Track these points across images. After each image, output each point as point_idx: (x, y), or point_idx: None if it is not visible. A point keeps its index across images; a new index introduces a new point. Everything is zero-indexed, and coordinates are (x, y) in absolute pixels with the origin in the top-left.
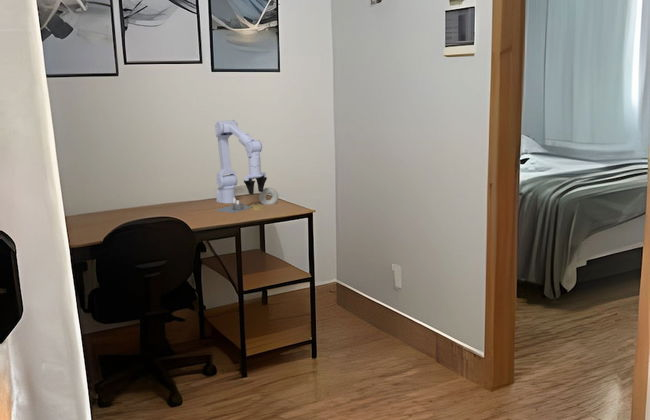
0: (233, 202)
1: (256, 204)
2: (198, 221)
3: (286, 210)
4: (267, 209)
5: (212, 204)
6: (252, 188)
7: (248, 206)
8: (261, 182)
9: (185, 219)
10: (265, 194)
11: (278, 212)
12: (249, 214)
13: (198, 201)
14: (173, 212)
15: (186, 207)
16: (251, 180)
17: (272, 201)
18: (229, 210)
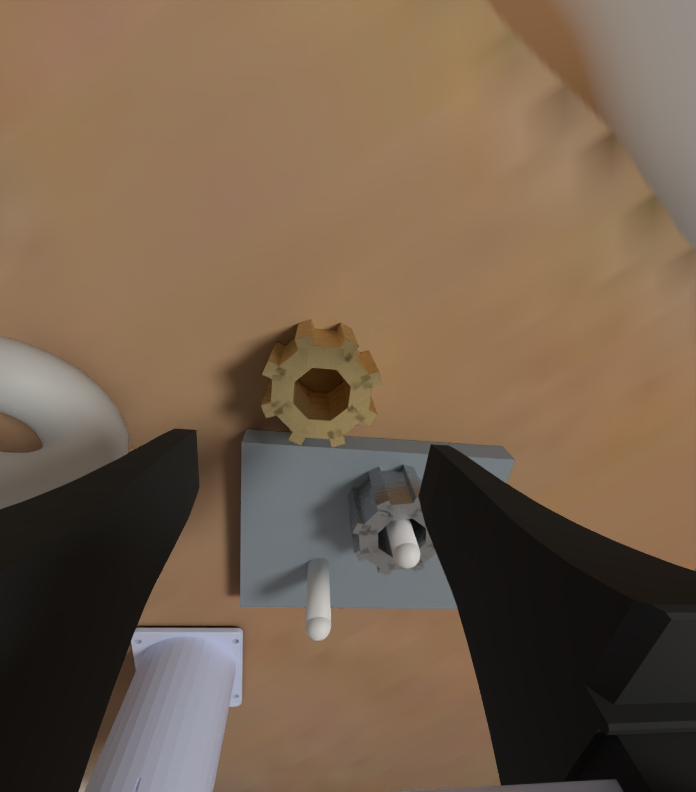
0: (329, 600)
1: (296, 406)
2: (672, 547)
3: (121, 75)
4: (188, 331)
5: (233, 716)
6: (524, 496)
7: (259, 493)
8: (96, 575)
9: None
10: (32, 458)
11: (260, 125)
12: (429, 371)
13: None
14: (472, 735)
15: (352, 754)
16: (657, 716)
17: (21, 361)
18: None
